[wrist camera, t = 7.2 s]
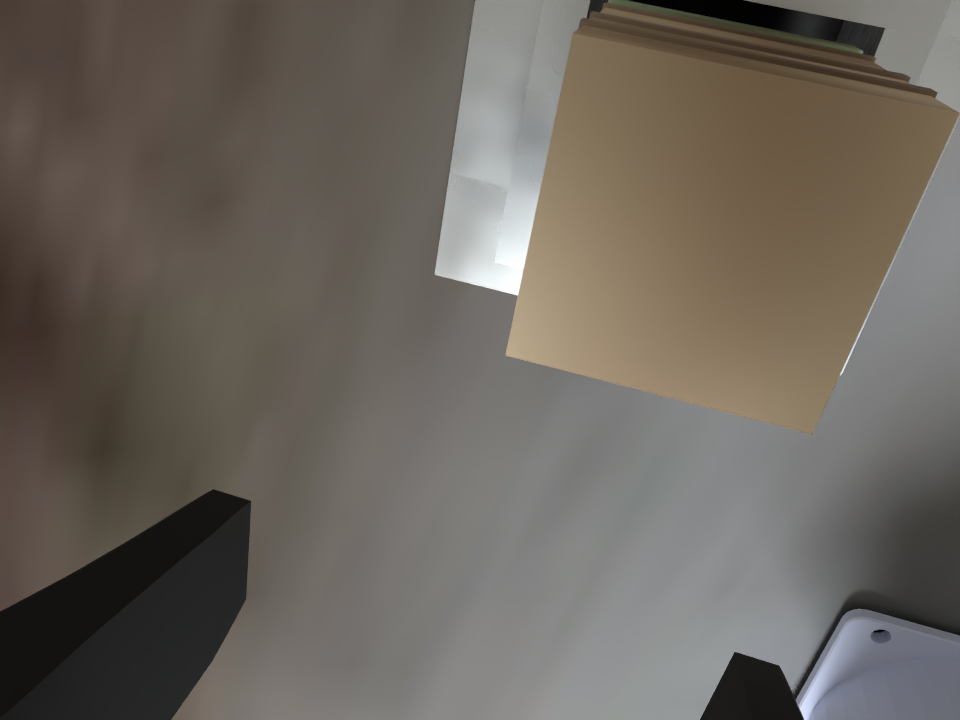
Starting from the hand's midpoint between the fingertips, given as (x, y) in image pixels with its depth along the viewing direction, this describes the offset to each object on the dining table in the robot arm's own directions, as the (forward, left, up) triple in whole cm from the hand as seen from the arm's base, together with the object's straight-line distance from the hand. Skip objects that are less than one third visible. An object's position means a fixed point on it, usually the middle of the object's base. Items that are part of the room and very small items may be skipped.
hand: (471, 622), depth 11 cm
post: (-2, -6, -8) cm, 10 cm away
